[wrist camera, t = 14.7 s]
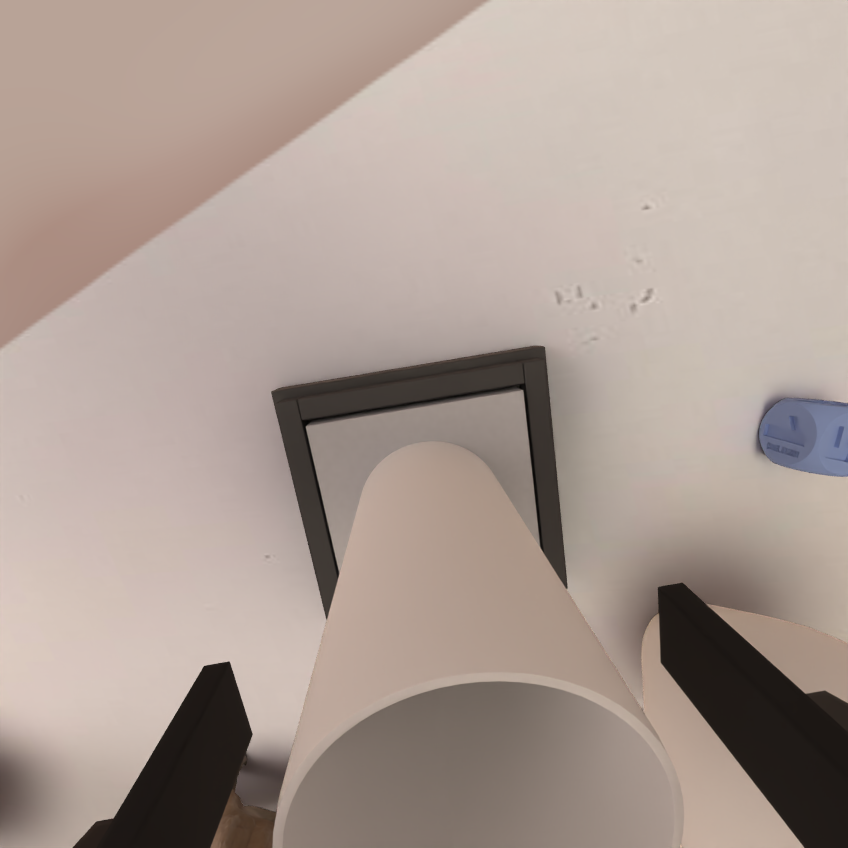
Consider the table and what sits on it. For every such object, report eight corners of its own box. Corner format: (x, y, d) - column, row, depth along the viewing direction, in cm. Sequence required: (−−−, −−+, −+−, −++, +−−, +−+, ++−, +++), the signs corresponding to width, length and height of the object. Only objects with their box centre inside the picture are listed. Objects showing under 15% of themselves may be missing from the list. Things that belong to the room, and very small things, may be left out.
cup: (509, 444, 23) (726, 674, 8) (495, 576, 25) (647, 987, 9) (361, 437, 23) (265, 666, 7) (357, 572, 24) (272, 997, 9)
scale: (278, 387, 25) (262, 395, 22) (536, 345, 25) (553, 346, 22) (332, 614, 29) (324, 646, 26) (559, 575, 29) (576, 602, 26)
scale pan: (311, 420, 24) (305, 426, 22) (515, 386, 24) (523, 389, 23) (352, 601, 27) (349, 617, 25) (536, 569, 27) (544, 583, 25)
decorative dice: (765, 396, 27) (827, 406, 23) (823, 399, 27) (894, 410, 23) (751, 455, 28) (808, 475, 24) (808, 458, 28) (874, 478, 24)
